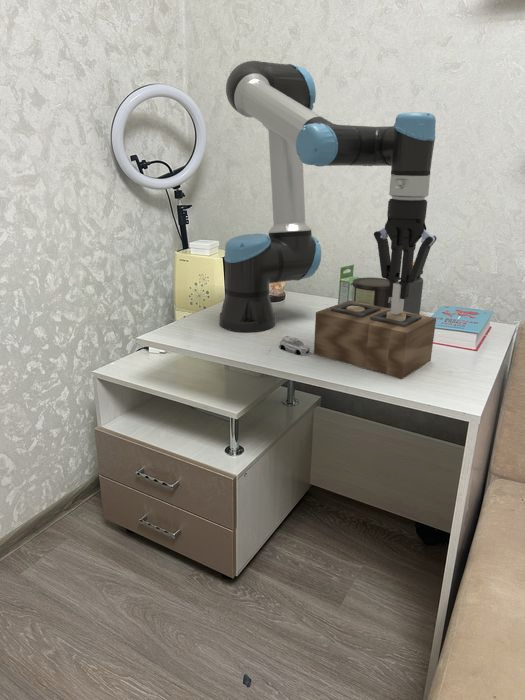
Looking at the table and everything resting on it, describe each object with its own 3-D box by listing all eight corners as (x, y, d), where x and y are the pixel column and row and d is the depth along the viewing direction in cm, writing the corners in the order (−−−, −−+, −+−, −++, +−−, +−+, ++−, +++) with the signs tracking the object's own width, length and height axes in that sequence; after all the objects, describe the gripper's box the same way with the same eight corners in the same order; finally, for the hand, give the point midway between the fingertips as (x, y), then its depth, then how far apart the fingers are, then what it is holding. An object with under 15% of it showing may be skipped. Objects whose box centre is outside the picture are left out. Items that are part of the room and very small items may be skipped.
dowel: (379, 353, 115) (383, 313, 112) (388, 348, 118) (392, 310, 115) (396, 357, 113) (400, 317, 110) (405, 352, 116) (409, 313, 113)
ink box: (348, 315, 151) (351, 269, 146) (336, 313, 154) (339, 267, 149) (361, 311, 156) (365, 266, 151) (350, 308, 158) (353, 264, 154)
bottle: (394, 314, 153) (399, 262, 147) (406, 311, 156) (411, 260, 151) (411, 319, 148) (417, 266, 143) (423, 315, 152) (429, 263, 147)
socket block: (313, 353, 121) (315, 309, 118) (346, 339, 131) (349, 297, 128) (401, 379, 108) (407, 329, 104) (430, 360, 118) (436, 315, 114)
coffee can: (389, 331, 138) (394, 278, 133) (390, 344, 128) (396, 287, 123) (349, 328, 140) (353, 276, 135) (347, 340, 130) (351, 285, 125)
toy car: (303, 357, 120) (304, 345, 119) (277, 349, 125) (277, 337, 124) (313, 354, 122) (314, 341, 121) (287, 345, 127) (288, 333, 126)
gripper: (369, 197, 106) (361, 310, 114) (431, 200, 98) (417, 322, 106) (387, 195, 111) (378, 304, 119) (447, 198, 103) (433, 314, 111)
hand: (396, 312), depth 112 cm, fingers closed
